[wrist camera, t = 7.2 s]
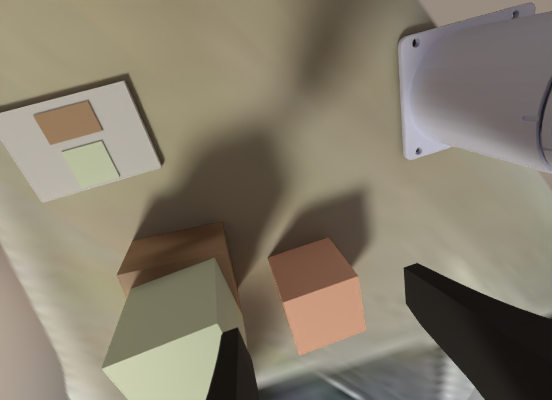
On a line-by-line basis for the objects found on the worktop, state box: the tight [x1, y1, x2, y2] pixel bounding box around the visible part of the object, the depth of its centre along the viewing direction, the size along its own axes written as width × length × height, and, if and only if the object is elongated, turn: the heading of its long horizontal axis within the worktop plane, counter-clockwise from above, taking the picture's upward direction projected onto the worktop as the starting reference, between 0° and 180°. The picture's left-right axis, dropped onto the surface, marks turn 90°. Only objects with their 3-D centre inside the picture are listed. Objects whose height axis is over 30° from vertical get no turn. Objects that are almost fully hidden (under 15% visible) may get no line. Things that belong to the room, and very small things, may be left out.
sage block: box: [101, 258, 248, 400], centre depth 15 cm, size 5×5×5 cm
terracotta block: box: [268, 237, 366, 355], centre depth 21 cm, size 5×5×5 cm
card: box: [0, 81, 162, 203], centre depth 16 cm, size 7×5×1 cm
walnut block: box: [117, 222, 241, 312], centre depth 19 cm, size 6×6×4 cm
